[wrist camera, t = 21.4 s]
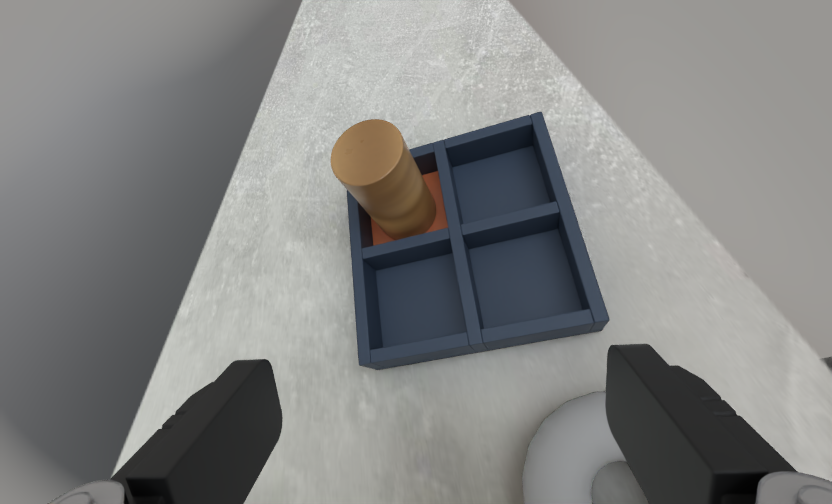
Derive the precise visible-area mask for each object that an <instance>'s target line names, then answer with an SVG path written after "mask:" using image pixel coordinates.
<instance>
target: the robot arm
mask: <svg viewBox="0 0 832 504" xmlns="http://www.w3.org/2000/svg"><path fill="white" fill-rule="evenodd" d="M605 408H606V416H607V421H608V425H609V428H610V431H611V433H612V435H613V437H614V439H615V441H616V443H617V444H618V446H619V448H620V450H621V452H622V454H623V456H624V457H625V459H626V461H627V463H628V465H629V467H630V469H631V470H632V472H633V474H634V476H635V478H636V480H637V482H638V483H639V485H640V487H641V489H642V491H643V493H644V494H645V496H646V498H647V500H648V502H649V504H832V482H830V481H828V480H825V479H823V478H819V477H816V476H813V475H809V474H804V473H798V472H797V471H796V470H795V469H794V468H793V467H792V466H791V465H790V464H789V463H788V462H787V461H786V460H785V459H784V458H783V457H782V456H781V455H780V454H779V453H778V452H777V451H776V450H775V449H774V448H773V447H772V446H770V445H769V444H768V443H767V442H766V441H765V440H764V439H763V438H762V437H761V436H760V435H759V434H758V433H757V432H756V431H755V430H754V429H753V428H752V427H751V426H750V425H749V424H748V423H747V422H746V421H745V420H744V419H743V418H742V417H741V416H737V415H736V411H735V410H734V409H733V408H732V407H731V406H730V405H729V404H728V403H726V402H725V401H724V400H721V397H720V396H719V395H718V394H717V393H716V392H715V391H714V390H713V389H712V388H711V387H710V386H709V385H708V384H707V383H706V382H705V381H704V380H703V379H701V378H699V377H698V376H696V375H694V374H692V373H690V372H689V371H687V370H685V369H683V368H681V367H680V366H669V365H668V364H667V363H666V362H665V361H664V360H663V359H662V357H661V356H660V355H659V354H658V353H657V352H656V351H655V350H654V349H653V348H652V347H651V346H650V345H648V344H629V345H611V346H610V348H609V350H608V356H607V378H606V400H605ZM281 429H282V411H281V406H280V401H279V397H278V392H277V388H276V383H275V379H274V374H273V370H272V366H271V364H270V362H269V361H268V360H266V359H258V360H237V361H234V362H232V363H231V364H230V365H229V366H228V367H227V369H226V370H225V371H224V372H223V373H222V374H221V375H220V376H219V377H218V378H217V379H216V380H215V381H214V382H212V383H210V384H208V385H207V386H205V387H204V388H202V389H201V390H199V391H198V392H196V393H195V394H193V395H192V396H190V397H189V398H188V399H187V401H186V402H185V403H184V404H183V405H182V406H181V407H180V408H179V409H178V410H177V411H176V414H175V415H172V416H171V417H170V418H169V419H168V420H167V421H166V422H165V423H164V424H163V425H162V429H158V430H157V431H156V432H155V434H154V435H153V436H152V437H151V438H150V439H149V440H148V441H147V442H146V443H145V444H144V445H143V446H142V447H141V448H140V449H139V450H138V451H137V452H136V453H135V454H134V455H133V456H132V457H131V458H130V459H129V460H128V461H127V462H126V463H125V464H124V466H123V467H122V468H121V469H120V470H119V471H118V472H117V473H116V474H115V475H114V476H113V477H112V478H111V479H110V480H99V481H95V482H91V483H87V484H84V485H82V486H79V487H77V488H74V489H72V490H70V491H68V492H66V493H64V494H63V495H61V496H59V497H57V498H56V499H54V500H52V501H51V502H50V503H48V504H243V503H244V502H245V500H246V498H247V496H248V494H249V492H250V491H251V489H252V487H253V485H254V483H255V482H256V480H257V478H258V476H259V474H260V472H261V471H262V469H263V467H264V465H265V463H266V461H267V460H268V458H269V456H270V454H271V452H272V451H273V449H274V447H275V445H276V443H277V441H278V439H279V437H280V433H281Z"/></svg>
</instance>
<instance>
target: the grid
mask: <svg viewBox="0 0 832 504" xmlns="http://www.w3.org/2000/svg"><path fill="white" fill-rule="evenodd" d="M409 151H410V153H411V155H412V157H413V159H414V161H415V163H416V164H417V166H418V168H419V170H420V172H421V174H422V176H423V178H424V180H425V182H426V184H427V186H428V188H429V190H430V192H431V194H432V196H433V198H434V201H435V203H436V216H435V220H434V222H433V224H432V225H431V227H430V228H429V229H428V230H427V231H426V232H425V233H423V234H419V235H415V236H411V237H407V238H403V239H399V240H395V239H393V238H391V237H389V236H388V235H386V233H385V232H384V231H383V230H382V229H381V228H380V227H379V226H378V224H377V223H376V222H375V221H374V220H373V219H372V218H371V216H370V215H369V214H368V213H367V212H366V211H365V209H364V208H363V207H362V206H361V205H360V204H359V203H358V201H357V200H356V199H355V198H354V197H353V196H352V195H351V193H350V192H349V191H348V190H347V201H348V215H349V229H350V244H351V258H352V272H353V287H354V301H355V315H356V330H357V344H358V358H359V365H361V366H365V367H368V368H372V369H376V370H380V369H386V368H392V367H397V366H403V365H409V364H414V363H420V362H426V361H432V360H437V359H443V358H449V357H454V356H460V355H466V354H471V353H477V352H483V351H488V350H494V349H500V348H506V347H511V346H517V345H523V344H528V343H534V342H540V341H545V340H551V339H557V338H563V337H568V336H574V335H580V334H585V333H591V332H597V331H601V330H602V329H603V328H604V326H605V325H606V324H607V322H608V321H609V316H608V313H607V310H606V307H605V304H604V301H603V298H602V295H601V292H600V289H599V286H598V283H597V280H596V277H595V274H594V270H593V267H592V264H591V261H590V258H589V255H588V252H587V249H586V246H585V243H584V240H583V237H582V234H581V231H580V228H579V225H578V221H577V218H576V215H575V212H574V209H573V206H572V203H571V200H570V197H569V194H568V191H567V188H566V185H565V182H564V179H563V176H562V172H561V169H560V166H559V163H558V160H557V157H556V154H555V151H554V148H553V145H552V142H551V139H550V136H549V133H548V130H547V127H546V123H545V120H544V117H543V114H542V112H538V113H534V114H531V115H527V116H524V117H520V118H517V119H513V120H510V121H506V122H503V123H499V124H496V125H493V126H489V127H486V128H482V129H479V130H475V131H472V132H468V133H465V134H462V135H458V136H455V137H451V138H448V139H445V140H440V141H437V142H434V143H430V144H427V145H423V146H420V147H416V148H413V149H410V150H409Z"/></svg>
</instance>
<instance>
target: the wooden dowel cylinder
mask: <svg viewBox="0 0 832 504" xmlns="http://www.w3.org/2000/svg"><path fill="white" fill-rule="evenodd" d="M331 167H332V170H333V173H334V174H335V176H336V177H337V178H338V180H339V181H340V182H341V183H342V184H343V185H344V186H345V188H346V189H347V190H348V191H349V192H350V193H351V195H352V196H353V197H354V198H355V199H356V200H357V201H358V203H359V204H360V205H361V206H362V207H363V208H364V209H365V211H366V212H367V213H368V214H369V215H370V216H371V218H372V219H373V220H374V221H375V222H376V223H377V224H378V226H379V227H380V228H381V229H382V230H383V231H384V232H385V233H386V235H388V236H389V237H391V238H393V239H395V240H399V239H403V238H407V237H411V236H415V235H419V234H423V233H425V232H426V231H427V230H428V229H429V228H430V227H431V225H432V224H433V222H434V220H435V216H436V203H435V201H434V198H433V196H432V194H431V192H430V190H429V188H428V186H427V184H426V182H425V180H424V178H423V176H422V174H421V172H420V170H419V168H418V166H417V164H416V163H415V161H414V159H413V157H412V155H411V153H410V151H409V149H408V147H407V145H406V143H405V141H404V139H403V137H402V135H401V133H400V131H399V130H398V129H397V127H395V126H394V125H393V124H391V123H389V122H387V121H384V120H378V119H372V120H366V121H362V122H360V123H357V124H355V125H353V126H352V127H350V128H349V129H348V130H346V131H345V132H344V133H343V134H342V135H341V136H340V137H339V139H338V140H337V142H336V143H335V145H334V147H333V150H332V153H331Z"/></svg>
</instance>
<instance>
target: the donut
mask: <svg viewBox="0 0 832 504" xmlns="http://www.w3.org/2000/svg"><path fill="white" fill-rule="evenodd" d="M605 400H606V392H593V393H590V394H587V395H584V396H582V397H579V398H576V399H573V400H570V401H567V402H566V403H564V404H563V405H562V406H561V407H559V408H558V409H557V410H556V411H554V412H553V413H552V414H551V415H549V416H548V417H547V418H546V419H544V421H543V423H542V424H541V426H540V427H539V429H538V431H537V432H536V434H535V436H534V437H533V439H532V441H531V442H530V444H529V447H528V451H527V456H526V460H525V465H524V470H523V474H522V482H523V494H524V504H593V502H592V495H591V489H592V483H593V479H594V477H595V476H596V474H597V472H598V471H599V470H600V469H601V468H602V467H604V466H605V465H606V464H609V463H612V462H616V461H624V462H627V461H626V459H625V457H624V456H623V454H622V452H621V450H620V448H619V446H618V444H617V443H616V441H615V439H614V437H613V435H612V433H611V431H610V428H609V425H608V421H607V416H606V408H605Z"/></svg>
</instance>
